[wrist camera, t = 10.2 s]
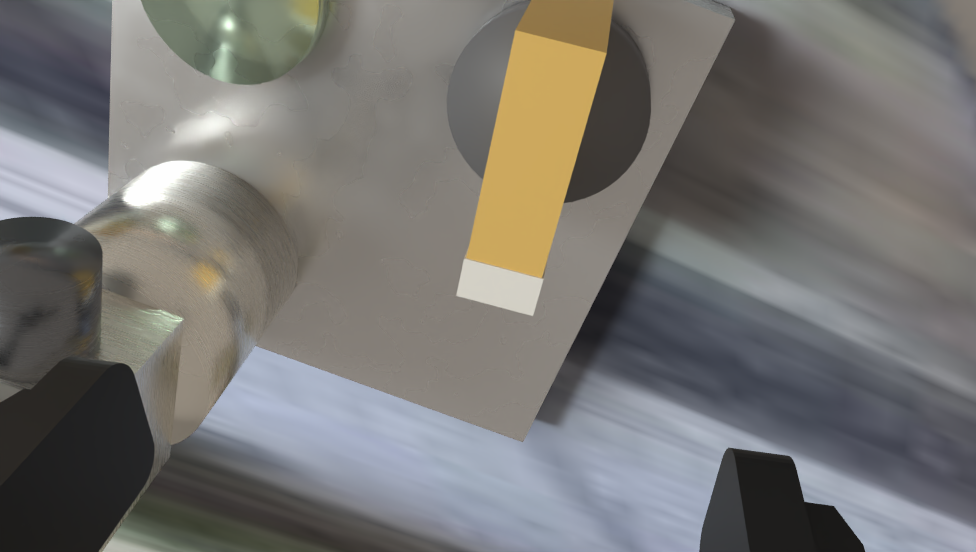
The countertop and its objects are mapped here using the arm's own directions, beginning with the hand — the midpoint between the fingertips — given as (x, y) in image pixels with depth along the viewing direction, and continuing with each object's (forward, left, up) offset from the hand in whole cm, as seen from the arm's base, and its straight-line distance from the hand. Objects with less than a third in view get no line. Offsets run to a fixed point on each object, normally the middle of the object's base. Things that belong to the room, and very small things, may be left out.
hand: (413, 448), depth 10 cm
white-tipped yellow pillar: (0, 0, -15) cm, 15 cm away
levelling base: (-5, +5, -17) cm, 18 cm away
